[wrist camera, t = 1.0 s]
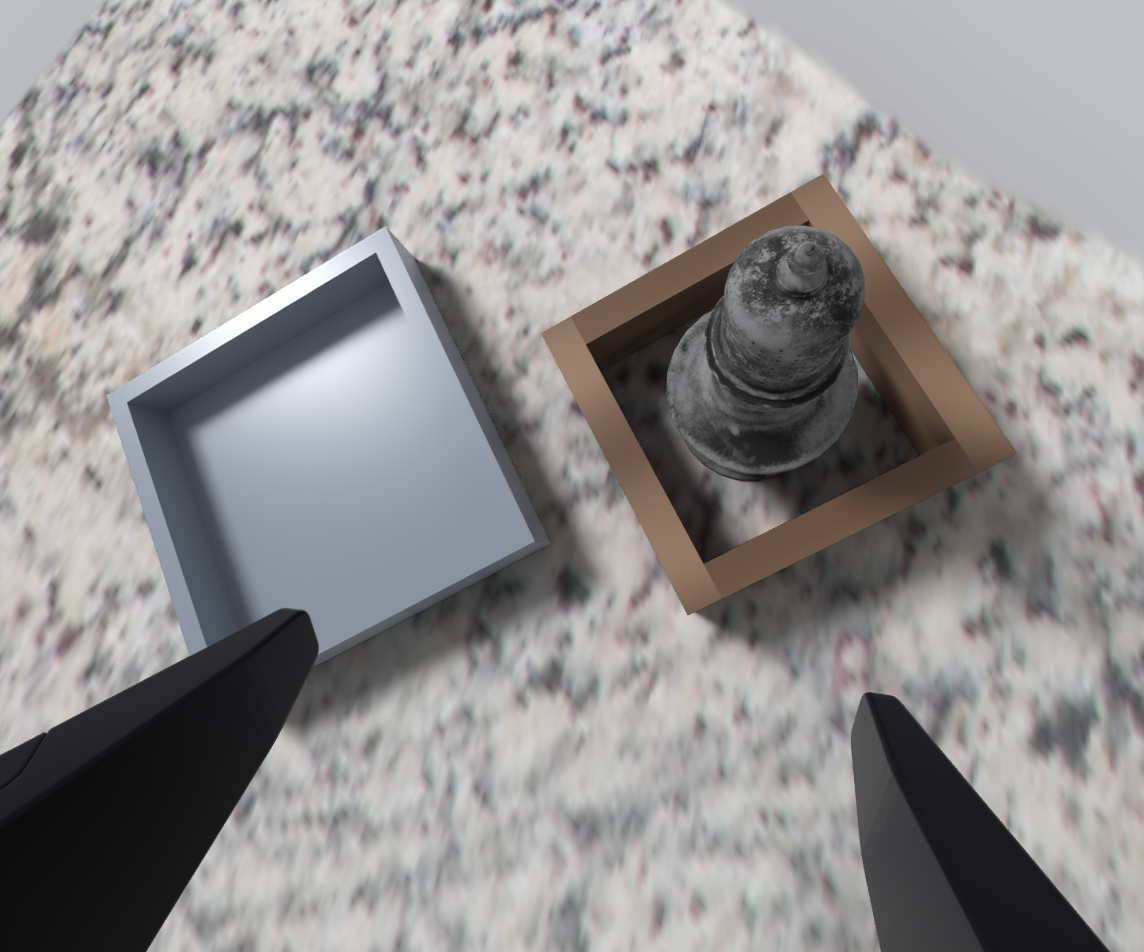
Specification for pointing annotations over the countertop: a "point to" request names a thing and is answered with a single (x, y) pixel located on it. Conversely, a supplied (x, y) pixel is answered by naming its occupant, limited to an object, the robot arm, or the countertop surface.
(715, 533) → the countertop surface
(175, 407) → the tray
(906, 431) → the socket block
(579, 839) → the countertop surface
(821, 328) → the salt shaker
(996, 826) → the robot arm
